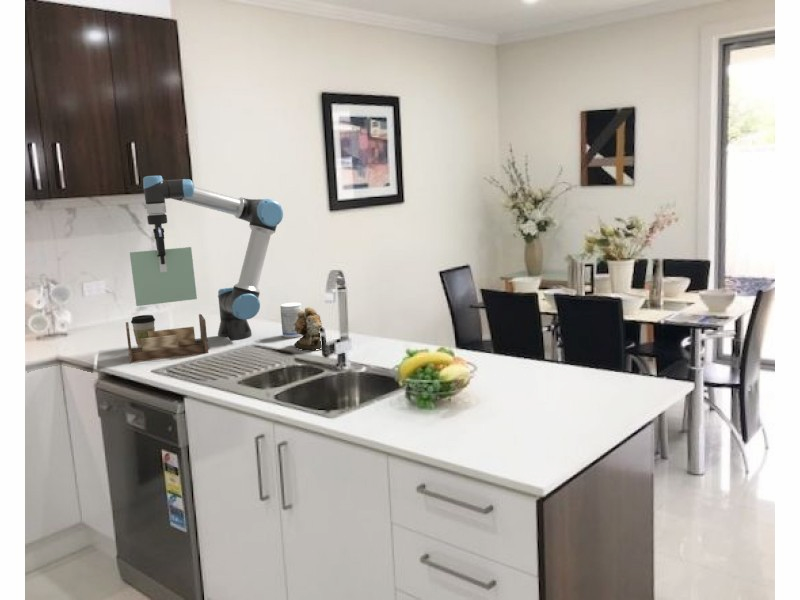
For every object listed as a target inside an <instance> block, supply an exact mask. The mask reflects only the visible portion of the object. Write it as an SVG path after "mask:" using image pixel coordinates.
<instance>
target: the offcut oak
mask: <svg viewBox="0 0 800 600" xmlns="http://www.w3.org/2000/svg"><path fill="white" fill-rule="evenodd" d="M169 335H177V336H178V346H180V345H188V344H195V341H196V337H195V336H196V335H195V327H194V326H188V327H186V326H185V327H177V328H170V329H169V328H168V329H161V330H155V331H150V332H148V337H149V338H152V337H161V336H169Z"/></svg>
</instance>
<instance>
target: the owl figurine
mask: <svg viewBox="0 0 800 600" xmlns="http://www.w3.org/2000/svg"><path fill="white" fill-rule="evenodd" d="M297 316H298V319H297V320H296V321H297V322H296V323H295V330H296V332H297V333H298V334H301V335H302V336H301V337H300V338H299V340H296V342H295V343H294V346H295V347H294V346H293V347H294V348H295V349H296V348H298V349H297V350H299V349H302V350H301V351H304V350H312V351H313V350H316V349H320V348H321V341H322V340H321V337H320V333H319V328H322V329H323V326H322V319H321V315H320V314H318V312H317V310H315V309H314V308H313V307H310V306H307V307H305V308H304V310H302V311H300V312H298V314H297ZM320 340H321V341H320Z"/></svg>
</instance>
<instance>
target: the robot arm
mask: <svg viewBox="0 0 800 600" xmlns="http://www.w3.org/2000/svg"><path fill="white" fill-rule="evenodd" d="M142 179H143V180H142V182H143V183H142V184H143V188H142V189H143V194H144V201H145V206H144V209H145V210H146V214H147V216H146V218H147V219H146V220H147V224H148V225H152V226H153V225H154V228H153V229H152V230H153V233H154V234H153V235H154V239H155V245H156V250H158V253H159V254H158V255H157V257H158V258H159V266H160V272H167V265H166V257H165V254H166V253H165V249H166V247H165V246H166V245H165V228H163V226H162V225H164V224H165V225H166V224H168V216H167V214H166V213H167V205H166V200H167V199H169V200H170V199H172V200H175V201H178V202H179V201H181V202H183V203H186V204H191V205H195V206H198V207H203V208H205V209H210V210H215V211H217V212H222V213H225V214H228V215H233V216H234V217H235V218H236V219H239V220H242V221H245V222H248V223H249V226H248V227H249V229H250V230H251V231H250V235H249V238H248V244H247V247H246V250H245V254H244V260H243V263H242V267H241V271H240V275H239V278H238V282H237V283H236V284H234V285H233V286H232V287H224V288H219V289H218V292H217V293H218V295H217V297H218V307H219V316H220V317H219V319H220V323H219V328H218V331H217V336H218V337H221V338H228V339H229V340H230V341H231V340H232V341H234V340H241V339H246V338H249V337H251V336H252V329H251V326H250V324H249V322H248V320H250V319H253V318H255V316H256V315H257V314H259V312H260V309H261V301H260V300H259V296H260V293H261V292H260V289H259V287H258V286H259V282H260V279H261V275H262V270H263V267H264V264H265V263H264V262H265V259H266V255H267V252H268V248H269V243H270V239H271V236H272V235H273V234H275V233H276V229H277V226H278V225H279V224H280V223H282V221H283V218H284V211H283V207H282V206H281V204H280V203H279V202H277V201H276V200H273V199H269V198H263V199H262V198H258V199H256V198H255V199H253V198H252V199H251V198H246V197H239V198H236V197H233V196H228V195H225V194H222V193H218V192H214V191H210V190H207V189H205V188H204V189H203V188H200V187H198V186H196V187H195V186H194V182H193V181H192V180H191V179H189V178H188V179H187V178H183V179H182V178H181V179H168V180H167V179H163V176H162V175H147V176H144V177H143V178H142Z"/></svg>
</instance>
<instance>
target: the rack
mask: <svg viewBox="0 0 800 600" xmlns="http://www.w3.org/2000/svg"><path fill="white" fill-rule="evenodd" d="M198 320H199V332H200V339H198V340H196V339H195V344H188V345H180V346H179V347H176V348H168V349H160V350H152V351H144V352H142V347H139V348H138V347H133V348H132V344H131V335H130V325H129V322H128V321H126V322H125V329H126V338H127V346H128V356H129V362H130V364H135V363H143V362H151V361H157V360H158V361H159V360H165V359H166V360H167V359H175V358H182V357H190V356H195V355H206V354H209V346H208V345H209V344H208V337H207V336H208V335H207V325H206V323H207V322H206V319H205V317H204V316H203V315H202V314H198Z"/></svg>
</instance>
